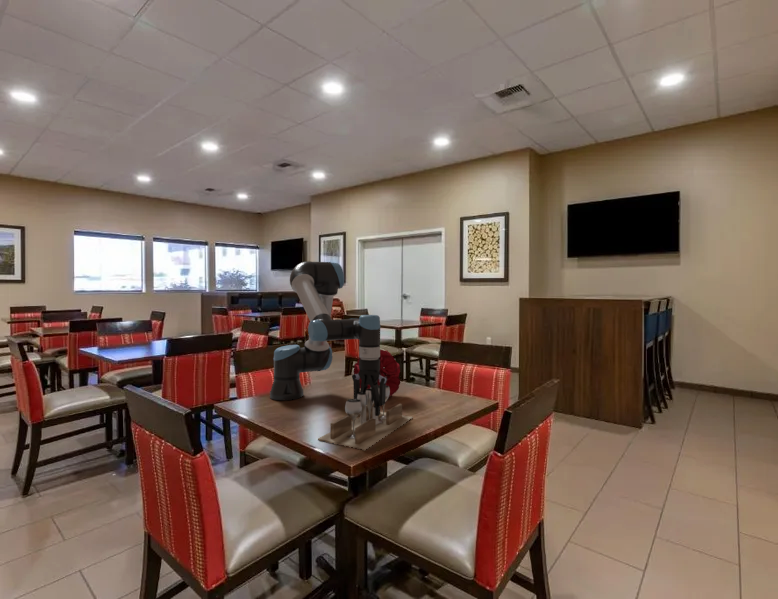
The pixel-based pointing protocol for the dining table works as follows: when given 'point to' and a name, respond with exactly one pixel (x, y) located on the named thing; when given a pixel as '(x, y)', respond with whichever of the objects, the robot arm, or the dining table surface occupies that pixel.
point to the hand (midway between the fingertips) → (369, 423)
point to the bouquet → (386, 371)
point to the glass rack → (365, 428)
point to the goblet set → (363, 406)
